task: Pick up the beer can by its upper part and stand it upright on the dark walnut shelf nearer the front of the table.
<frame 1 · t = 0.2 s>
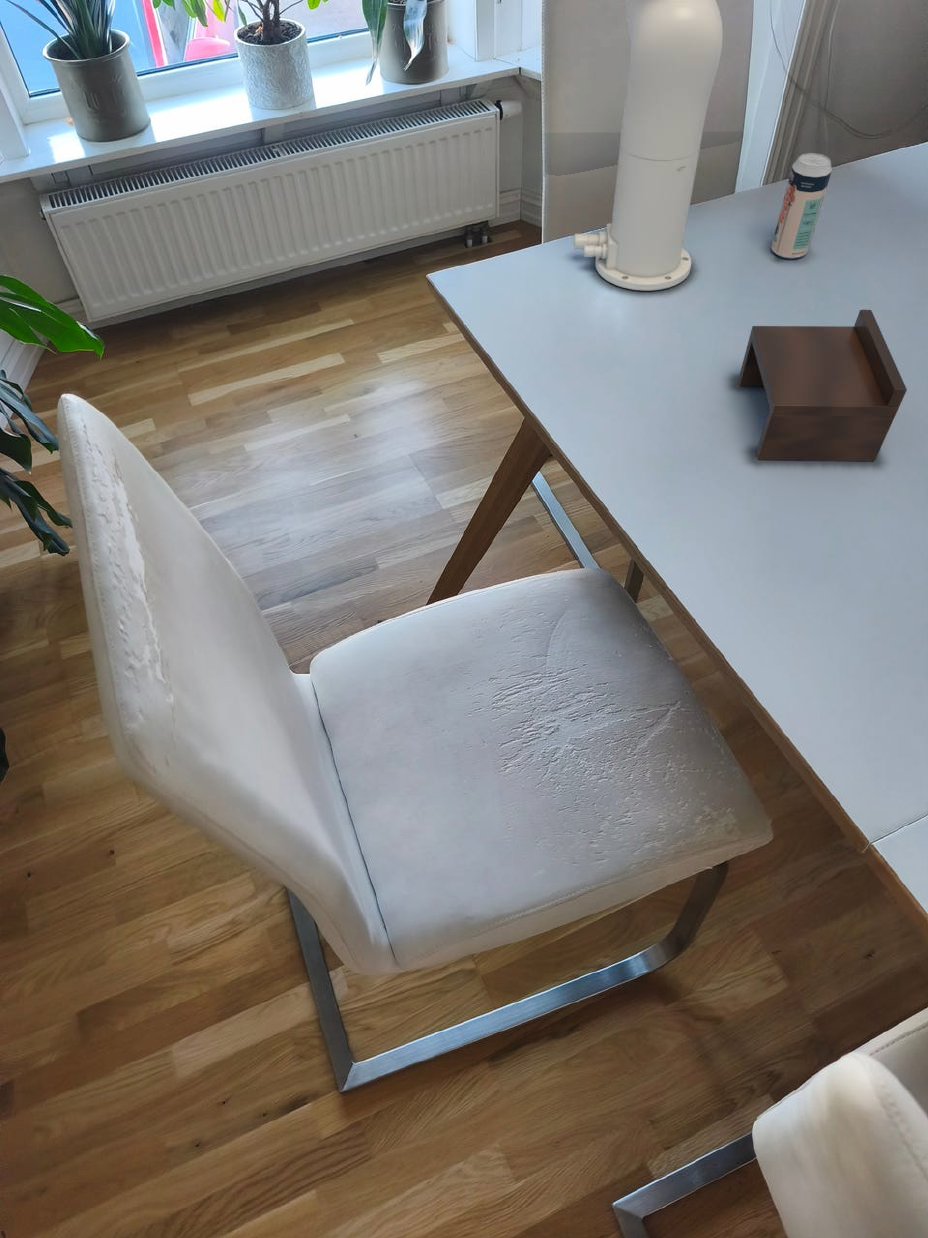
shelf: (802, 418, 93), on the table
beer can: (788, 253, 116), on the table
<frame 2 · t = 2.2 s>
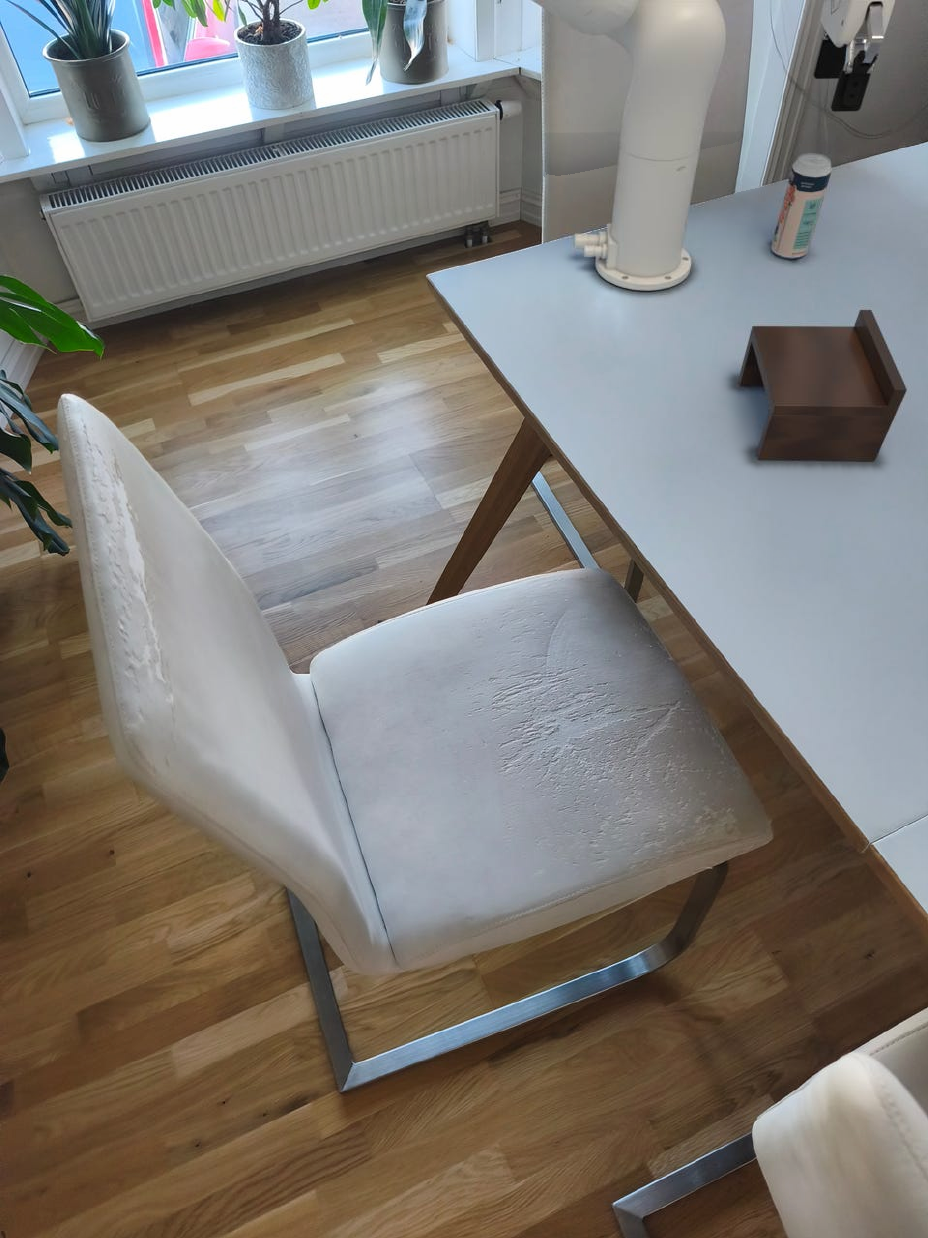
hand: (835, 93, 100), 19 cm above the table, tool pointing down, fingers open, 9 cm apart
nothing on the table moved.
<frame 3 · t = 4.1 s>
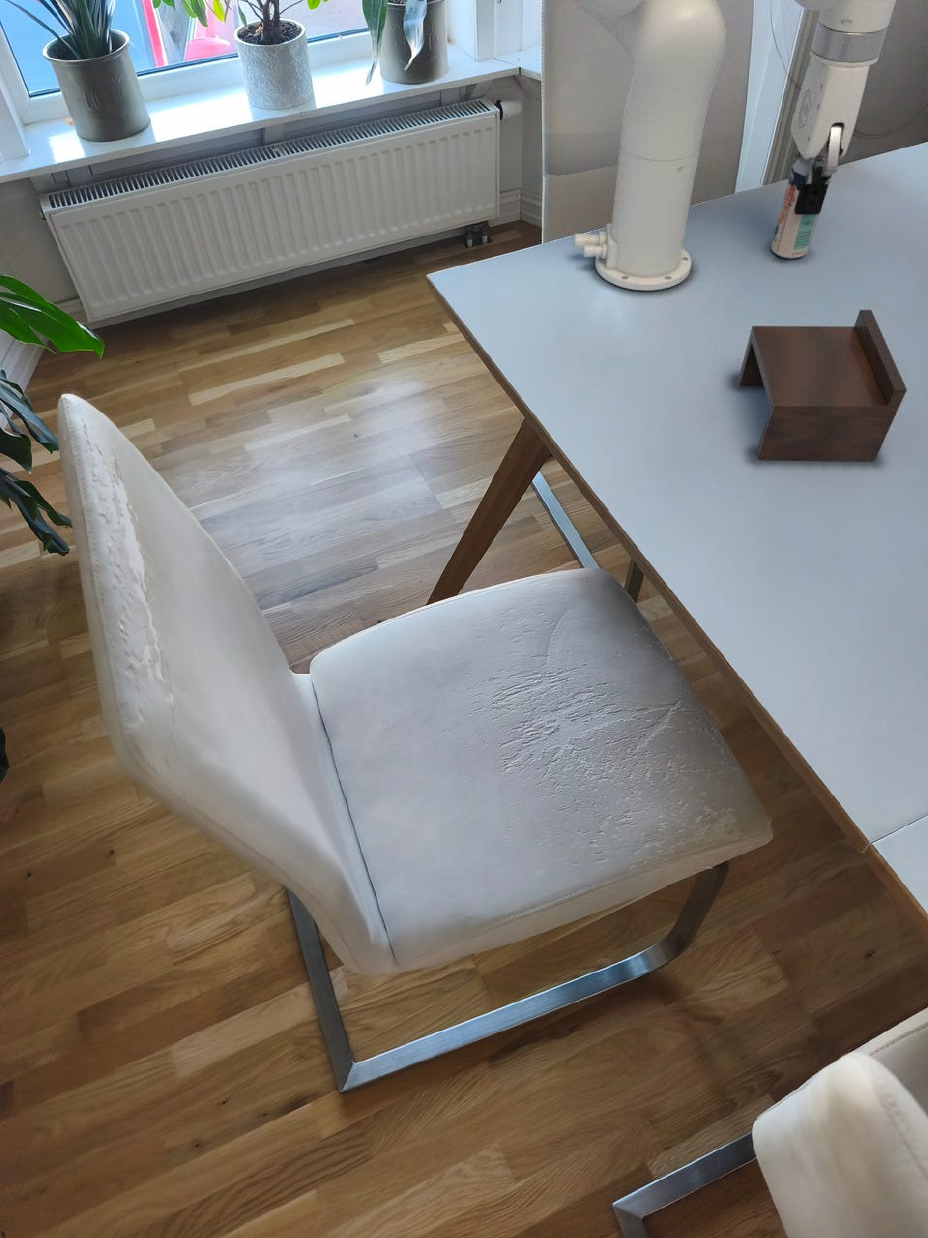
hand: (802, 201, 110), 7 cm above the table, tool pointing down, fingers closed on beer can, 4 cm apart
beer can: (788, 253, 116), on the table, touching gripper
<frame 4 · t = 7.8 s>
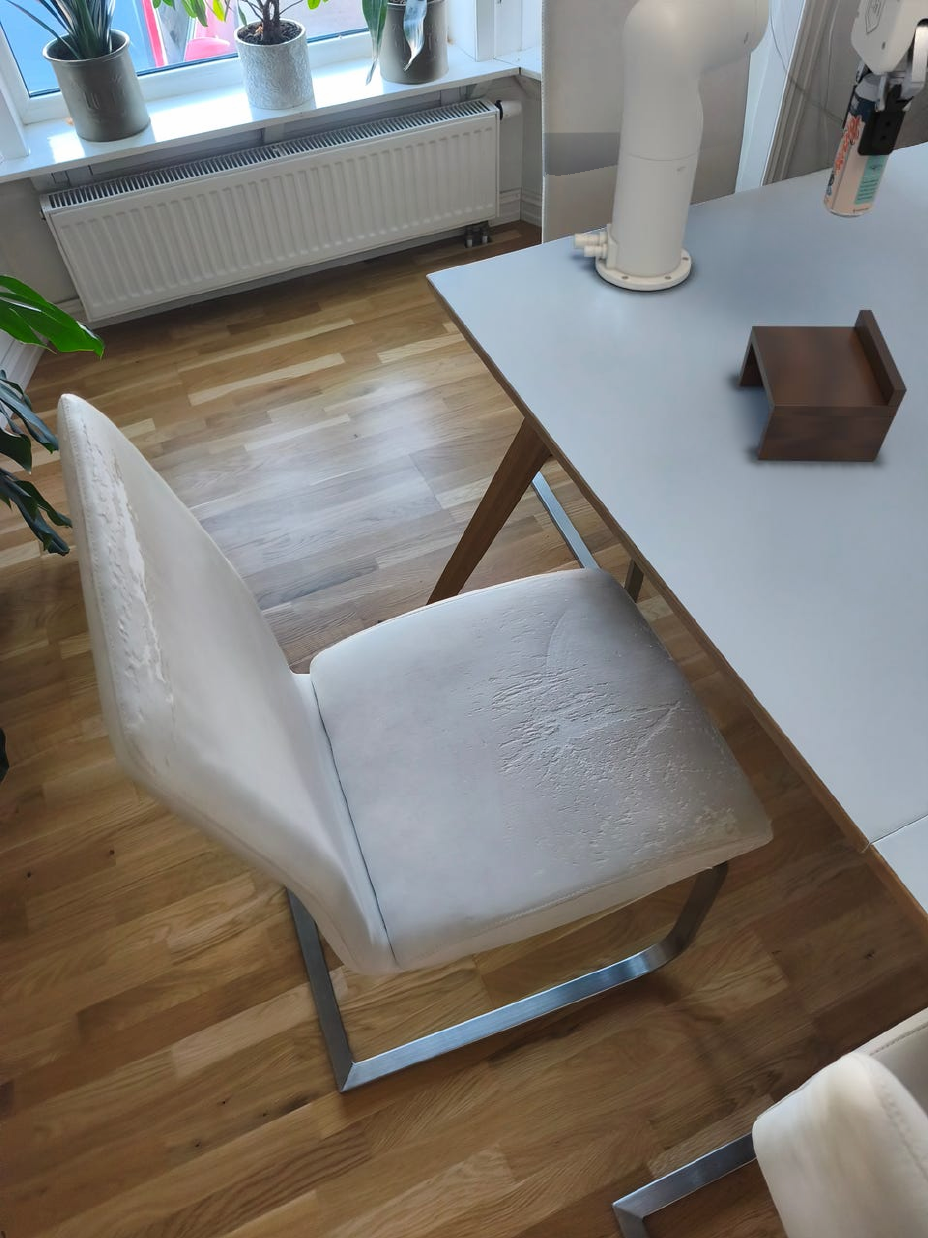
hand: (866, 139, 83), 24 cm above the table, tool pointing down, fingers closed on beer can, 4 cm apart
beer can: (845, 211, 88), point 17 cm above the table, touching gripper
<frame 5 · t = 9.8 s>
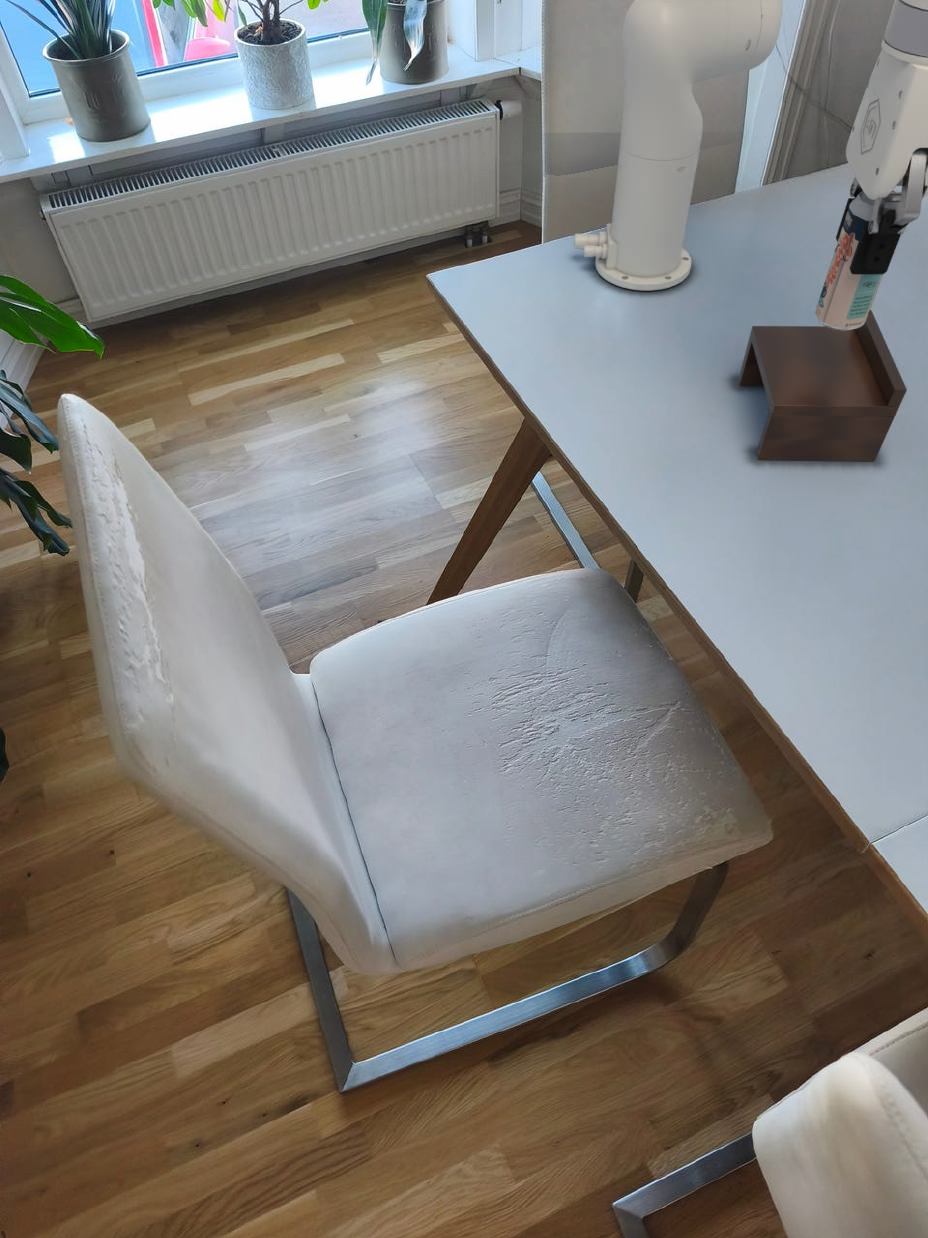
hand: (860, 254, 79), 19 cm above the table, tool pointing down, fingers closed on beer can, 4 cm apart
beer can: (838, 322, 84), point 12 cm above the table, touching gripper
when the fingers open (14 cm above the table, at t = 11.4 s): beer can stays where it is, resting on shelf.
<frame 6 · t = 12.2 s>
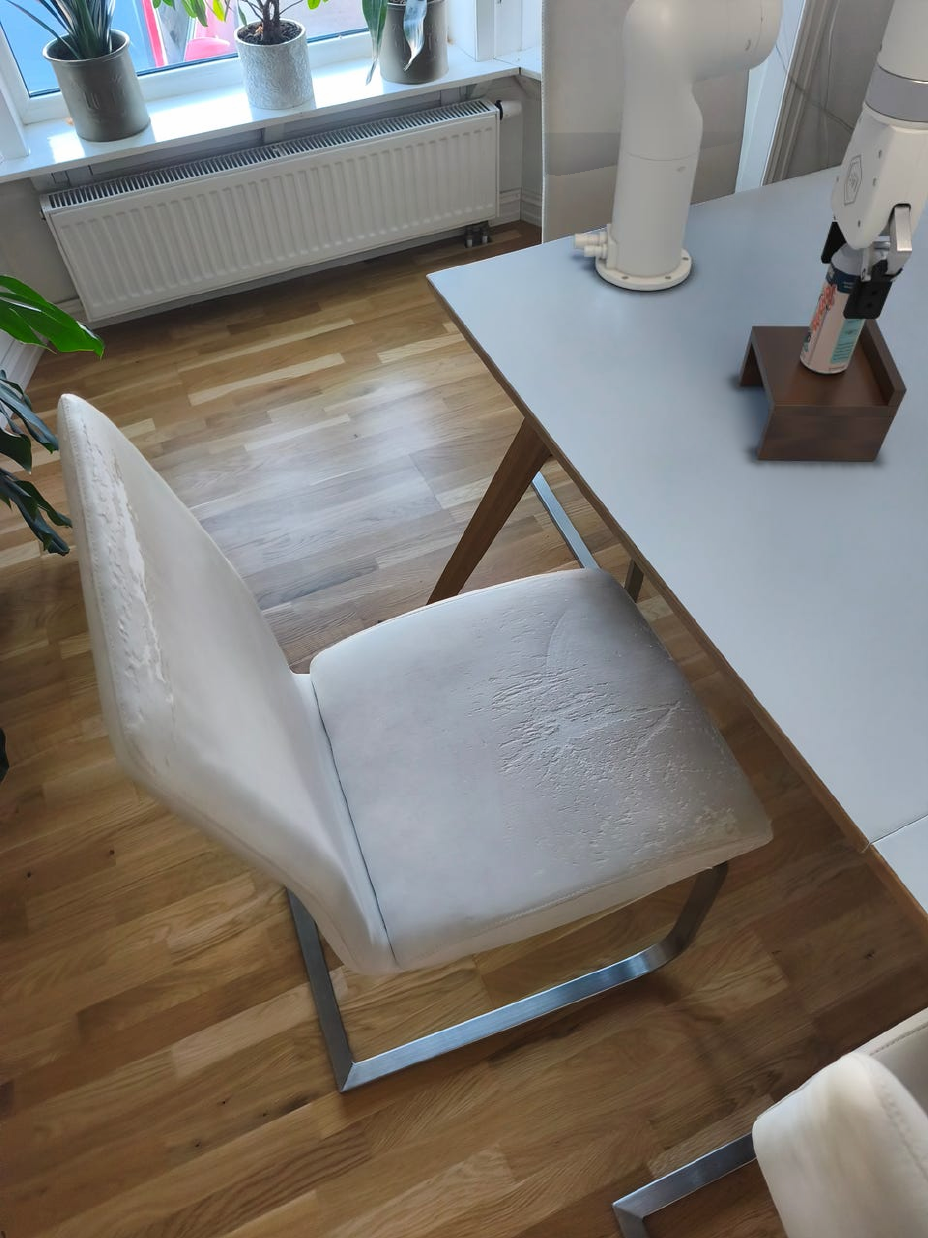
hand: (847, 288, 81), 15 cm above the table, tool pointing down, fingers open, 9 cm apart
beer can: (822, 365, 88), point 7 cm above the table, touching shelf
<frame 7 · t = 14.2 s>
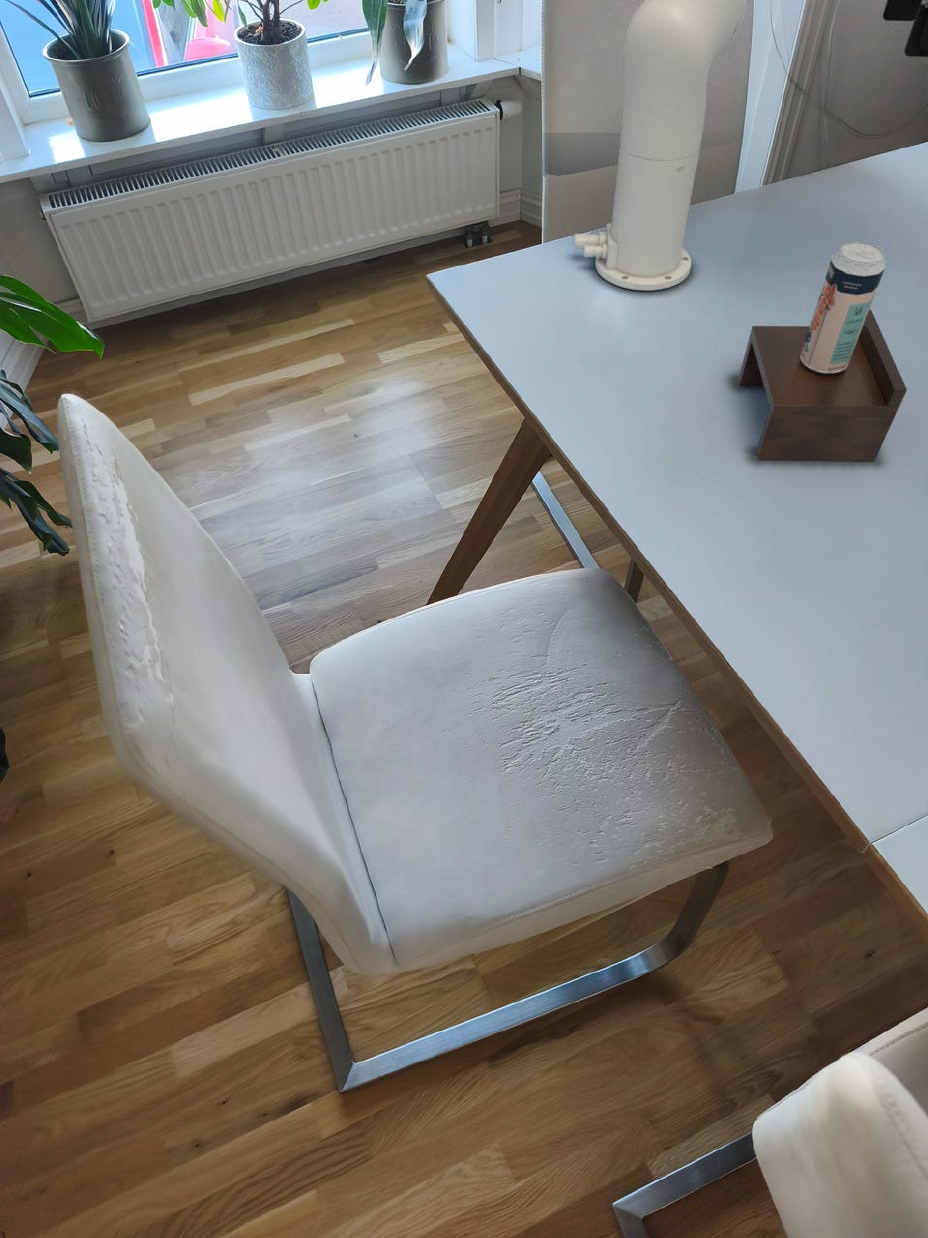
hand: (909, 36, 83), 30 cm above the table, tool pointing down, fingers open, 9 cm apart
nothing on the table moved.
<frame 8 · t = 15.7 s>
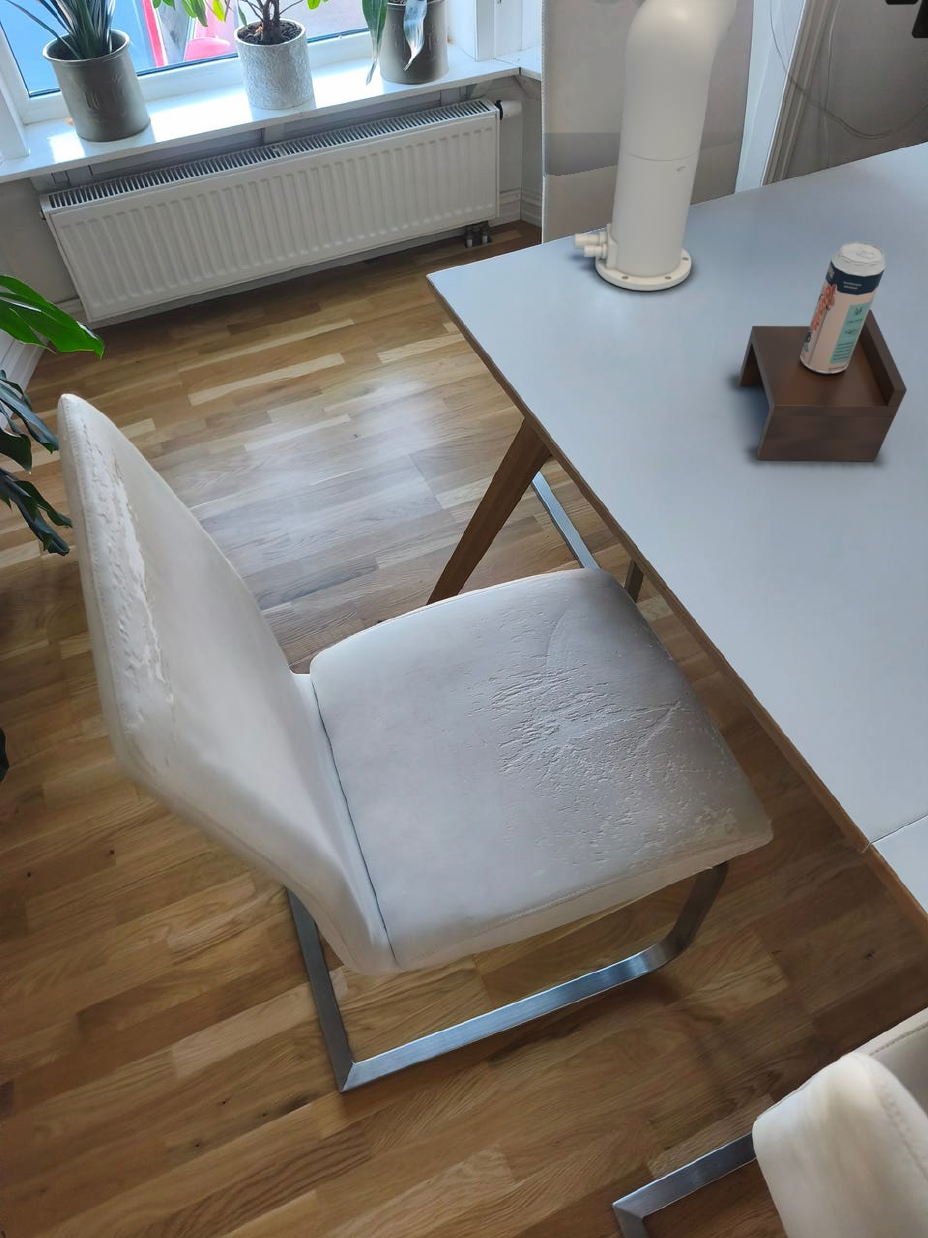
hand: (913, 19, 84), 30 cm above the table, tool pointing down, fingers open, 9 cm apart
nothing on the table moved.
at the end: beer can inside the target area on the shelf (0.1 cm from its centre), point 6.8 cm above the shelf's base; beer can tilted 0°; the gripper is holding nothing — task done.
